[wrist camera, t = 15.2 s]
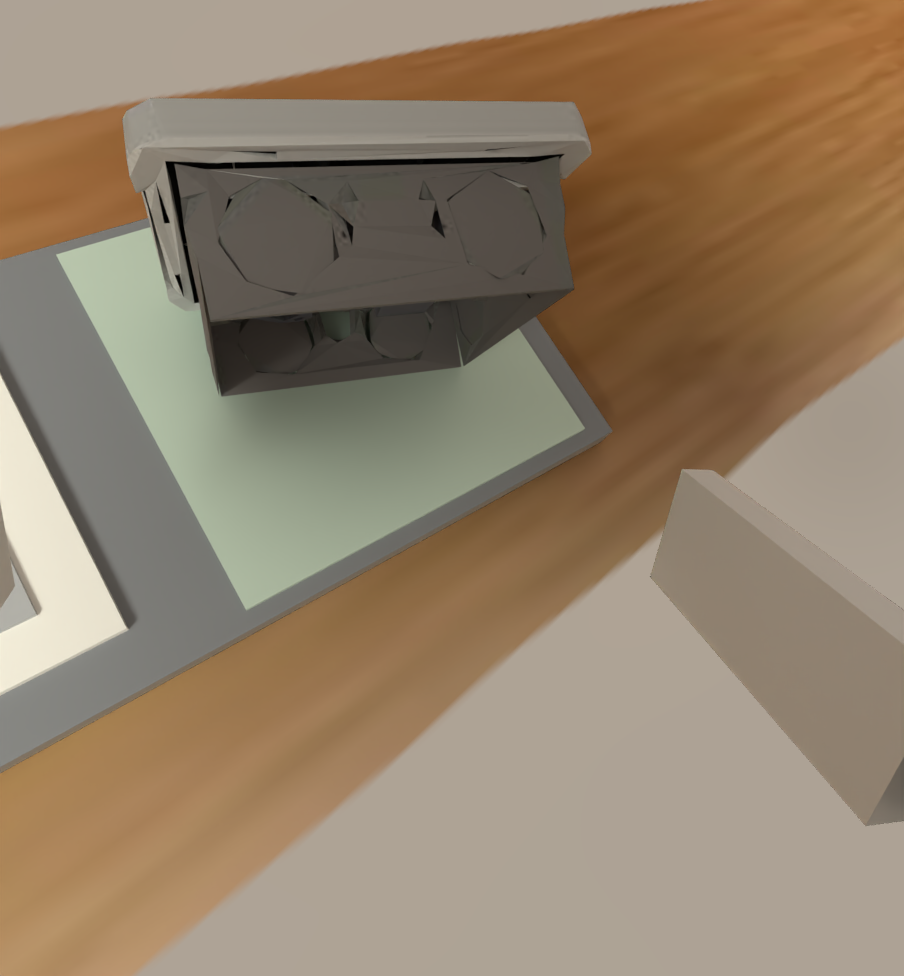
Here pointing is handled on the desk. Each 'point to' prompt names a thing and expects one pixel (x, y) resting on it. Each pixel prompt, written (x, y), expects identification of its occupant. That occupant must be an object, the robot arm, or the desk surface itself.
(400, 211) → the electrical switch
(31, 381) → the switch plate
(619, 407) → the desk surface
